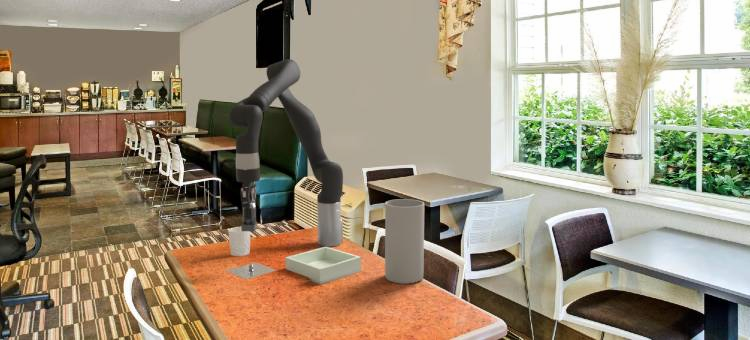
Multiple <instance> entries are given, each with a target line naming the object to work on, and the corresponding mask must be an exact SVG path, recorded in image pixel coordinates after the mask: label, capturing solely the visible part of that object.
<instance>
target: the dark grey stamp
mask: <svg viewBox="0 0 750 340" xmlns="http://www.w3.org/2000/svg"><path fill="white" fill-rule="evenodd" d="M245 204H248V202H246V203H245ZM256 205H257V201H256V202H254V201H252V204H251V206H252V207H251V212H252V219H251V220H245V219H244V209H243V208H242V223H241V227H242V231H250V232H254V233H255V231H257V229H258V221H257V207H256Z"/></svg>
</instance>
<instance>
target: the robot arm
mask: <svg viewBox="0 0 750 340" xmlns="http://www.w3.org/2000/svg"><path fill="white" fill-rule="evenodd" d="M266 77H267V81H266V82H264V83H262V84H261V85H259V86H258V87H257V88H255V90H254V91H253V92H252V93H251V94H249V95H248V97H246V98H243V99H242V100H240V101H238V102H236V103H235V104H234V105H233V106H232V107H231V108H230V110H229V112H228V119H229V122H230V124H231V125H233V126H234V127H239V128H245V127H246V128H247V130H246V132H245V133H242V134H239V135H237V136H236V137H235V177H236V181H237V183H238V182H239V183H242V187H241V188H240V193H239V194H240V201H241V208H242V210H243V209H244V219H245V220H251V219H252V212H251V207H252V206H251V204H252V201H254V202H256V203H257V184H256V182H259V181H260V180H261V174H260V171H261V169H260V168H261V167H260V155H259V138H260V137H259V136H260V133H261V127H262V123H263V119H264V118H263V116H264V114H263V113H264V112H266V111H267V109H268V108H270V106H271V105H272V104H273V103H274V102H275V100H277V98H278V100H279V102H280V104H281V105H282V107H283V109H284V111H285V114H286V115H287V117H288V119H289V122H290V123H291V124H290V125H291V126H292V128H293V131H294V132H295V134H296V137H297V138H298V140H299V142H300V145H301V147H302V148H303V151H304V153H305V155H306V156H307V159H308V162H309V165H310V167H311V171H312V174H313V176H314V178H315V180H316V181H318V182H319V183H321V191H320V193H318V194H317V197H316V198H317V199H316V201H317V202H316V203H317V206H316V207H317V211H316V212H317V244H318V245H319V246H321V247H336V246H337V247H338V246H340V245H341V244H342V243H344V233H343V231H344V230H343V228H344V227H343V222H344V221H343V219H342V216H341V215H342V213H341V211H342V208H341V205H342V203H341V198H342V195H343V190H344V189H343V186H344V173H343V168H342V166H341V165H340V164H339V163H337V162H335V161H330V159H329V158H328V156H327V154H326V152H325V150H324V148H323V143H322V134H321V128H320V125H319V123H318V121H317V119H316V116H315V115H314V113H313V111H312V110H311V109H310V108H309V107H307V106H306V105H304V104H303V103H302V102H301V101H300V100H298V99H297V98H296V97H295V95H293V93H292V92H291V90H290V87H291V86H293V85H295V84H297V82H299V80H300V78H301V70H300V67H299V64H298V63H297V62H296V61H295V60H294V59H289V58H287V59H283V60H281V61H278V62H275V63H273V64H269V65H268V66H267V68H266ZM246 202H248V204H245V203H246Z"/></svg>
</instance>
